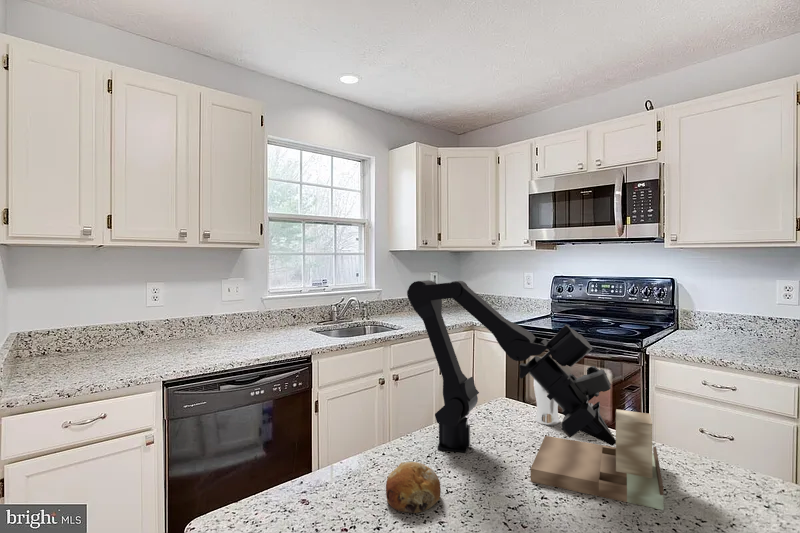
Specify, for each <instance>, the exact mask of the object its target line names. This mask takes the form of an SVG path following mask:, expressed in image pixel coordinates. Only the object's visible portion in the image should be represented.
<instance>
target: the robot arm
mask: <svg viewBox="0 0 800 533" xmlns="http://www.w3.org/2000/svg"><path fill="white" fill-rule="evenodd" d="M406 295H407V298H408V301H409V304H410V305H411V307H412V309H413V311H415V313H416V314H417V315H418V316H419V317H420V318H421V320H422V321H423V325H424V328H425V330H426V333H427V336H428V339H429V342H430V346H431V348H432V350H433V353H434V354H433V355H434V357H435V360H436V363H437V366H438V368H439V371H440V374H441V378H442V397H443V398H442V399H443V403H444V406H442V407H441V408H440V409H439V410H438V411H436V412H435V413H434V417H435V420H436V423H437V424H438V444H437V450H440V451H441V450H442V451H449V452H460V453H466V452H467V449H468V448H469V447H470V445H471V425H470V424H468V423H469V422H468V421H469V420H468V417H467V416H469V414H470V412H471V411H473V409H475V407H476V405H477V404H478V402H479V401H478V400H479V399H478V397H479V396H478V395H479V393H480V392H479V391H478V389H477V387H476V384H475V380H474V377H473V376H471V377H467V376H466V375H465V374H464V373H463V371H462V369H461V366H460V364H459V361H458V357H457V355H456V351H455V349H454V346H453V344H452V341H451V340H452V339H451V337H450V335H449V332H448V330H447V326H446V322H445V319H444V317H443V315H442V313H443V312H442V310H443V309H442V306H443V304H442V303H443V301H442V300H447V299H453V300H454V301H455V302H457V304H459V305H460V306H461V307H462V308H463V309H464V310H466V311H467V312H468V313H469V314H470V315H471V316H472V317H474V318H475V320H477V321H478V322H479V323H480V324H482V325H483V326H484V327H485V328H486V329H487V330H488V331H489V332H490V333H491V334H492V335H493V336H494V337H495V339H496V341H497V343H498V345H499V346H500V348H501V349H502V350H503V352H505V354H506V355H507V356H508V357H509V358H510V359H511V360H513V361H515V362H522V363H520V364H519V366H518V367H519V379H523V378H525V377H526V376H527V375H528V374H529V375H530V376H531V377H532V378H534V379H535V380H536V381H537V382H538V383H539V384H540V385H541V387H542V388H543V389H544V390H545V391H546V392H547V393H548V395H547V397H548V398H549V399H550V400H551V399H552V398H553V400H554V401H555V402H556V403H557V404H558V407H560V408H561V414H562V415H563V416H564V417H563V419H562V421H561V430H562V431H563V432H564V434H566V436H567V437H568V438H572V437H573V436H574V435H576V434H577V433H578V432H582V433H584V434H586V435H589V436H590V437H593V438H595V439H597V440H599V441H601V442H603V443H606V444H608V445H609V446H615V445H616V437H614V435H613V433H612V432H611V430H610V429H609V427H608V425H607V424H606V422H605V420H604V419H603V416H602V415H601V413H600V412H601V411H600V410H601V408H600V407H601V402H600V401H597V402H596V403H594V404H593V403H592V402H590V401H591V400H592V399H593V398H594V397H596V398H597V397H599V396H600V393H601V392H603V393H605V392H607V391H609V390H611V386H612V384H611V382H610V379H609V377H608V375H607V372H606V371H605V370H604V369H599V368H598V367H596V365H591V366H589V367H587V369H586V374H583V376H580V377H577V376H575V375H574V374H573V373H572V374H571V373H569V374H568V373H567V372H566V371H565V370H564V369H563V367H567V366H568V367H569V368H572V367H573V366H574V365H575V364H576V363H578V362H579V361H581V360H582V359H583V358H584V357H585V356H586V355H588V354H589V352H591V351H592V350H593V347H592V345H591V344H590V342H589V341H588V340H587V339H586V338H585V336H583V334H581V333H578V332H577V330H574V329H573V328H571V327H570V326H569V325H568V324H565V325H564V326H563V327H562V328H561V329H560V330H559V331H558V332H557V333H556V335H554V336H553V337H552V338H551V339H548V338H543V337H538V336H535V335H534V334H533V333H532V332H530V330H527V329H526V328H524V327H523V326H521V325H519V324H517V323H515V322H512V321H510V320H509V319H507V318H505V317H504V316H503V315H502V314H500V312H498V311H497V310H496V309H494V307H492V306H491V305H490V304H489V303H488V302H487V301H485V300H484V299H483V298H482V297H481V296H480V295H478V294H477V293H476V292H475V291H474V290H473V289H472V288H471V287H469V286H468V284H467V283H466V282H465V281H463V280H454V281H451V282H441V283H437V282H434V281H433V280H429V279H427V280H417V281H413V282H412V283H410V285H409V286H408V289H407V291H406ZM546 350H548V351H547V352H546ZM544 352H546V353H545V354H544V355H543V356H541V355H542V354H543V353H544ZM531 356H533V357H532V358H531V359H530V360H529V361H528V362H527V363H523V361H526V360H528V359H529V358H530V357H531ZM540 356H541V357H540ZM559 365H560V366H559Z"/></svg>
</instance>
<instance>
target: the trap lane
mask: <svg viewBox="0 0 800 533" xmlns="http://www.w3.org/2000/svg"><path fill="white" fill-rule="evenodd" d="M660 466H661V465H660V461H659V454H658V449H657V446H653V445H652V478H648V477H643V476H638V475H633V474H627V473H622V472H617V471H616V446H611V445H603V444H597V443H592V442H591V443H590V442H585V441H580V440H575V439H567V438H562V437H557V436H550V435H545V436H544V438H543V440H542V443H541V444H540V447H539V449H538V451H537V453H536V454H535V458H534V461H533V462H532V464H531V467H530V482H531V483H536V484H539V485H544V486H545V485H546V486H549V487H554V488H559V489H564V490H569V491H573V492H577V493H578V492H579V493H582V494H586V495H591V496H596V497H599V498H600V497H601V498H605V499H610V500H615V501H619V502H624V503H628V504H633V505H638V506H643V507H647V508H651V509H657V510H661V511H664V510H665V509H664V497H665V496H664V493H665V492H664V482H663V477H662V472H661V467H660Z"/></svg>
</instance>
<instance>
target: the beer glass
mask: <svg viewBox="0 0 800 533" xmlns="http://www.w3.org/2000/svg"><path fill="white" fill-rule="evenodd" d="M558 365H559V366H560V367H561V365H560V364H558ZM532 378H533V377H532ZM533 389H534V391H533V392H534V396H535V400H536V412H535V417H534V418H535V419H534V420H535V422H537V423H538V424H541V425H544V426H545V425H546V426H556V425H559V423H560V416H559V409H558V408H559V405H558V404H557V403H556V402H555V401H554V400H553V398H552V399H551V400H550V399H549V398H548V397H547V395H548V393H547V392H546V391H545V390H544V389H543V388H542V387H541V385H540V384H539V383H538V382H537V381H536V380H535V379H534V378H533Z"/></svg>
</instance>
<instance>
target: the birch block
mask: <svg viewBox="0 0 800 533" xmlns="http://www.w3.org/2000/svg"><path fill="white" fill-rule="evenodd" d="M652 420H653V419H652V415H651V413H647V412H639V411H631V410H625V409H624V410H623V409H617V408H616V409H615V440H616V443H615V447H616V471H617V472H622V473H627V474H633V475H638V476H643V477H648V478H652V454H653V422H652Z"/></svg>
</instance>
